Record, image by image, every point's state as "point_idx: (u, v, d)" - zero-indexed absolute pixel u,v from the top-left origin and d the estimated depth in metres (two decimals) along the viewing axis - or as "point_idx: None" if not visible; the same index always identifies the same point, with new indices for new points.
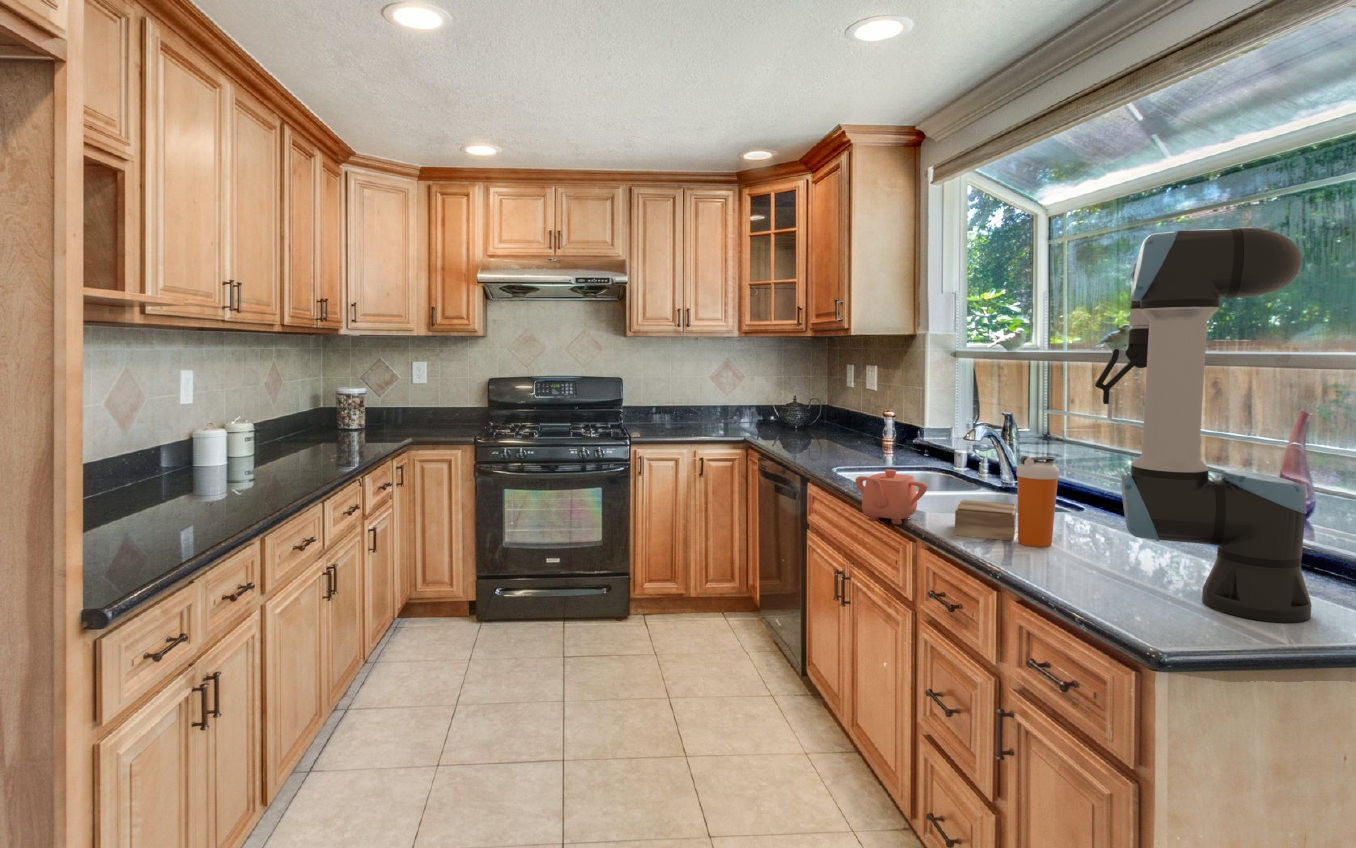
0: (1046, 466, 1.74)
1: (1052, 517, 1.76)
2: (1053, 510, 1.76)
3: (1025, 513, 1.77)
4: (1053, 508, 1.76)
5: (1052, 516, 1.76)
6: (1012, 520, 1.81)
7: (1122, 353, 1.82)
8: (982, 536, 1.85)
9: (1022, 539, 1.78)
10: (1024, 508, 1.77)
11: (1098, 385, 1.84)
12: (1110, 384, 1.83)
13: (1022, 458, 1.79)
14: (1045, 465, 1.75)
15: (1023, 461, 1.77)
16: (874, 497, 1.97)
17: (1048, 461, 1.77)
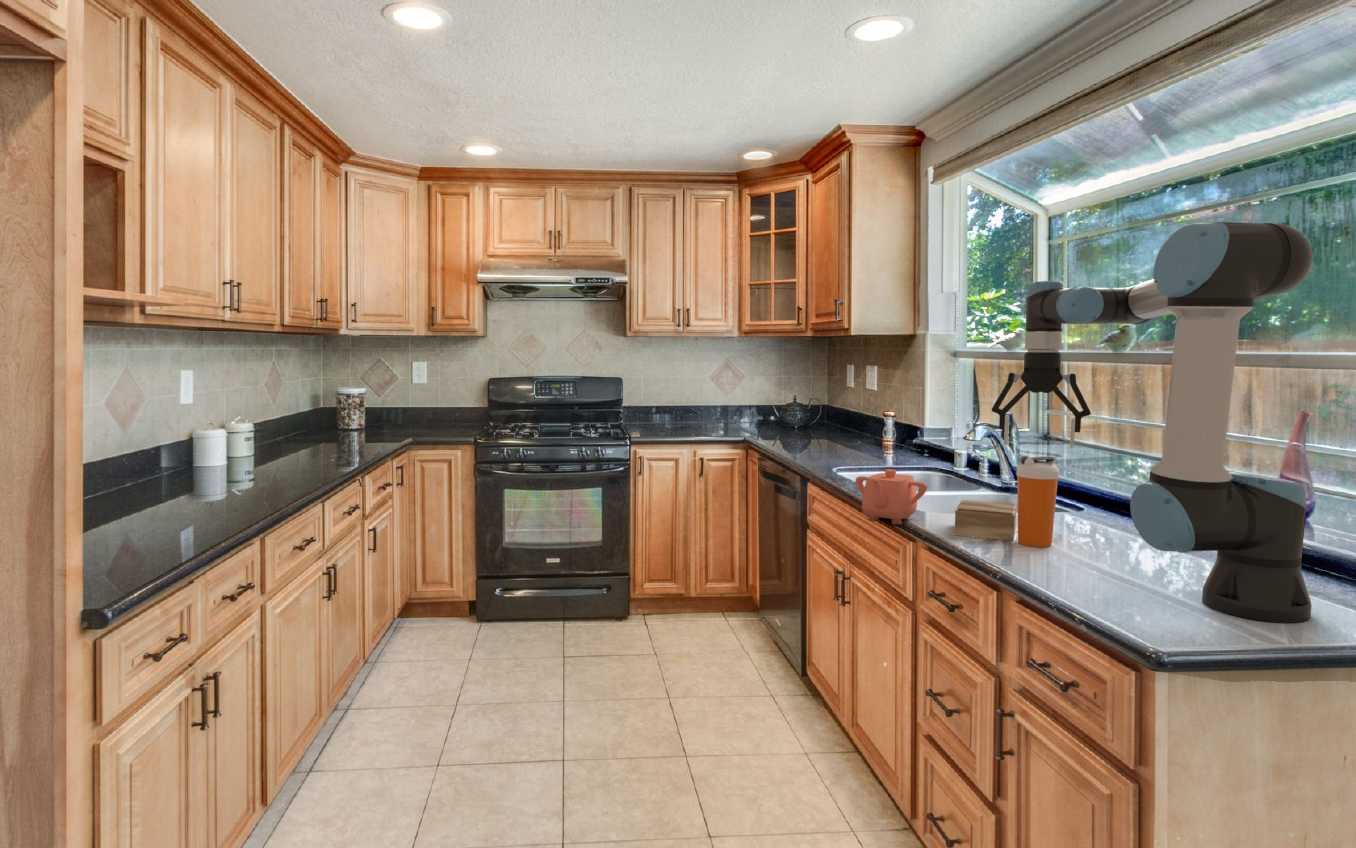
0: (1046, 466, 1.74)
1: (1052, 517, 1.76)
2: (1053, 510, 1.76)
3: (1025, 513, 1.77)
4: (1053, 508, 1.76)
5: (1052, 516, 1.76)
6: (1012, 520, 1.81)
7: (1017, 377, 1.77)
8: (982, 536, 1.85)
9: (1022, 539, 1.78)
10: (1024, 508, 1.77)
11: (994, 410, 1.79)
12: (1005, 408, 1.78)
13: (1022, 458, 1.79)
14: (1045, 465, 1.75)
15: (1023, 461, 1.77)
16: (874, 497, 1.97)
17: (1048, 461, 1.77)
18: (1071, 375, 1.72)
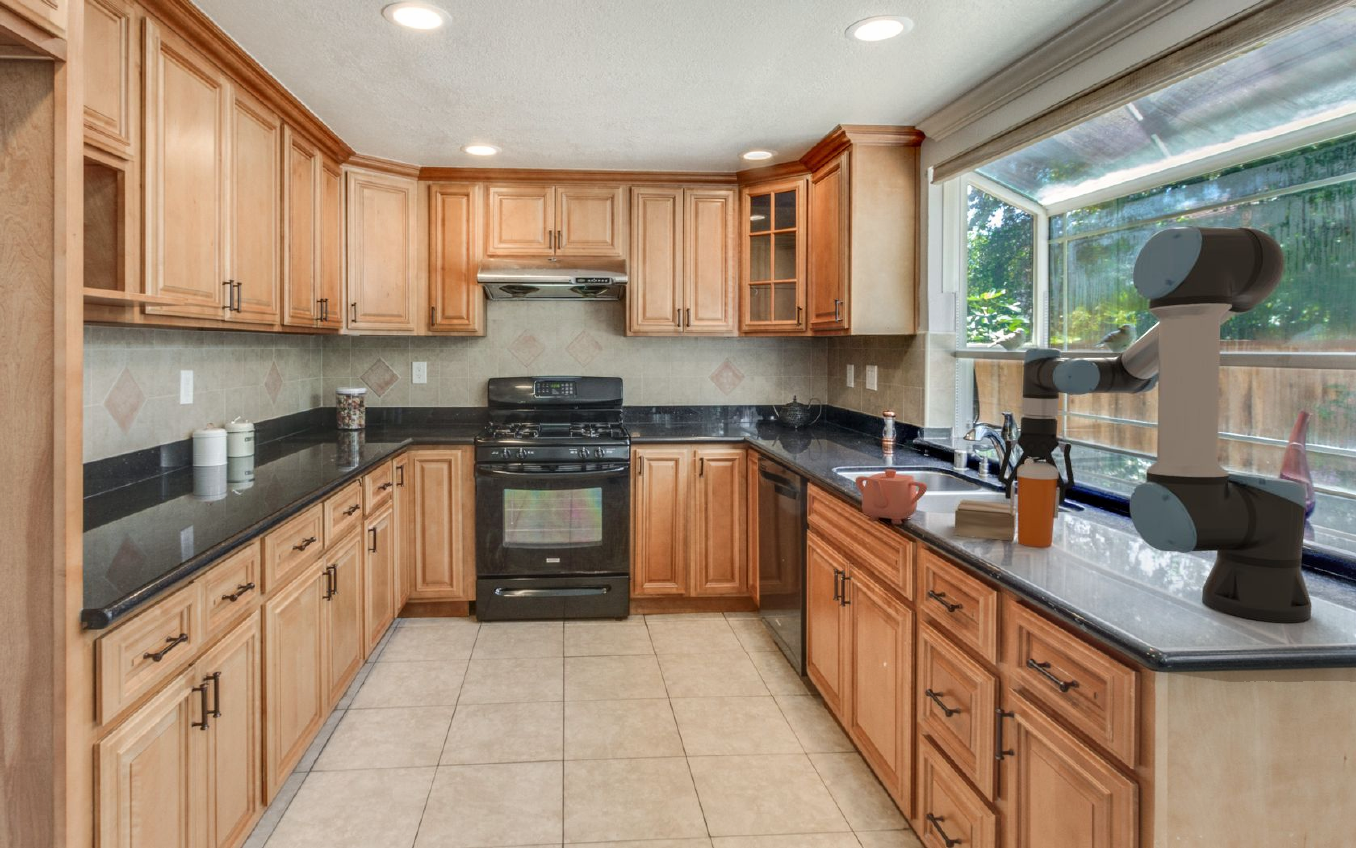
0: (1046, 466, 1.74)
1: (1052, 517, 1.76)
2: (1053, 510, 1.76)
3: (1025, 513, 1.77)
4: (1053, 508, 1.76)
5: (1052, 516, 1.76)
6: (1012, 520, 1.81)
7: (1014, 443, 1.79)
8: (982, 536, 1.85)
9: (1022, 539, 1.78)
10: (1024, 508, 1.77)
11: (1000, 479, 1.80)
12: (1010, 478, 1.79)
13: None
14: (1045, 465, 1.75)
15: (1023, 461, 1.77)
16: (874, 497, 1.97)
17: None
18: (1067, 445, 1.74)
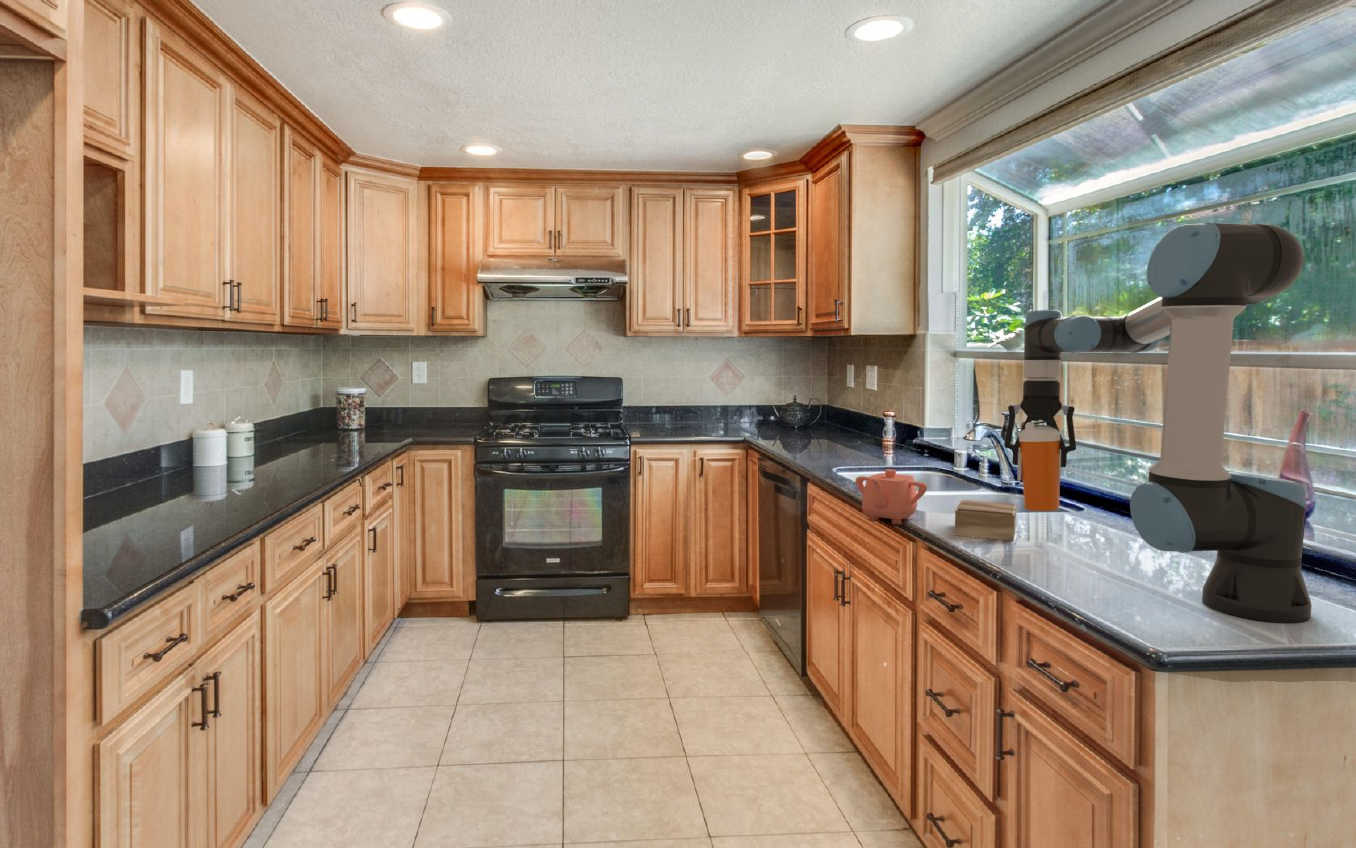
0: (1047, 429, 1.73)
1: (1057, 480, 1.74)
2: (1058, 473, 1.74)
3: (1030, 477, 1.75)
4: (1058, 471, 1.74)
5: (1057, 479, 1.74)
6: (1012, 520, 1.81)
7: (1017, 408, 1.78)
8: (982, 536, 1.85)
9: (1029, 505, 1.76)
10: (1028, 472, 1.75)
11: (1007, 445, 1.79)
12: (1017, 444, 1.78)
13: (1022, 423, 1.78)
14: (1046, 428, 1.74)
15: (1024, 426, 1.76)
16: (874, 497, 1.97)
17: (1049, 424, 1.76)
18: (1070, 408, 1.73)
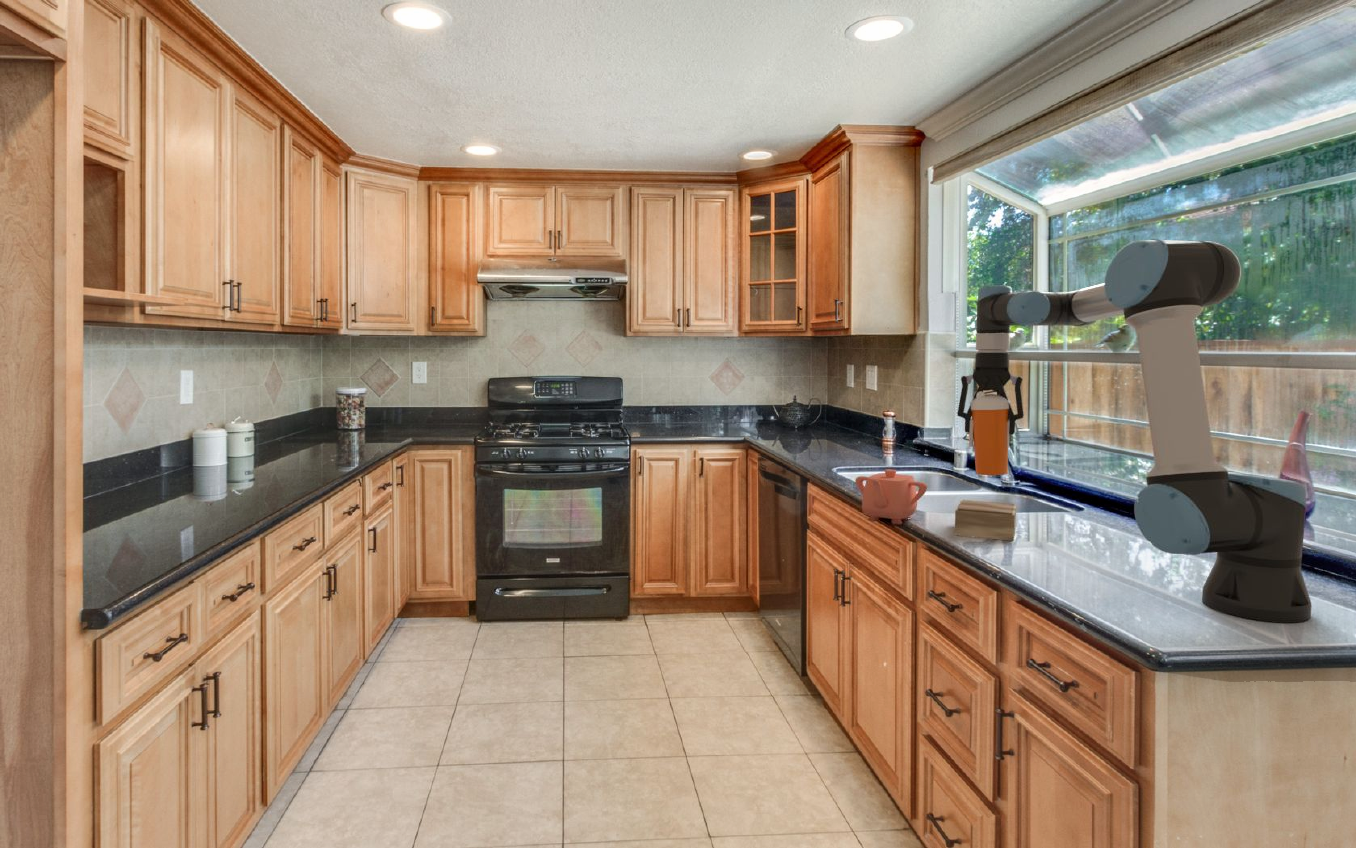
0: (996, 398, 1.84)
1: (1005, 446, 1.85)
2: (1006, 439, 1.85)
3: (980, 443, 1.86)
4: (1006, 437, 1.85)
5: (1006, 445, 1.85)
6: (1012, 520, 1.81)
7: (970, 378, 1.88)
8: (982, 536, 1.85)
9: (979, 470, 1.87)
10: (979, 439, 1.86)
11: (959, 414, 1.89)
12: (969, 412, 1.88)
13: (975, 393, 1.88)
14: (995, 397, 1.84)
15: (975, 395, 1.87)
16: (874, 497, 1.97)
17: None
18: (1018, 378, 1.83)
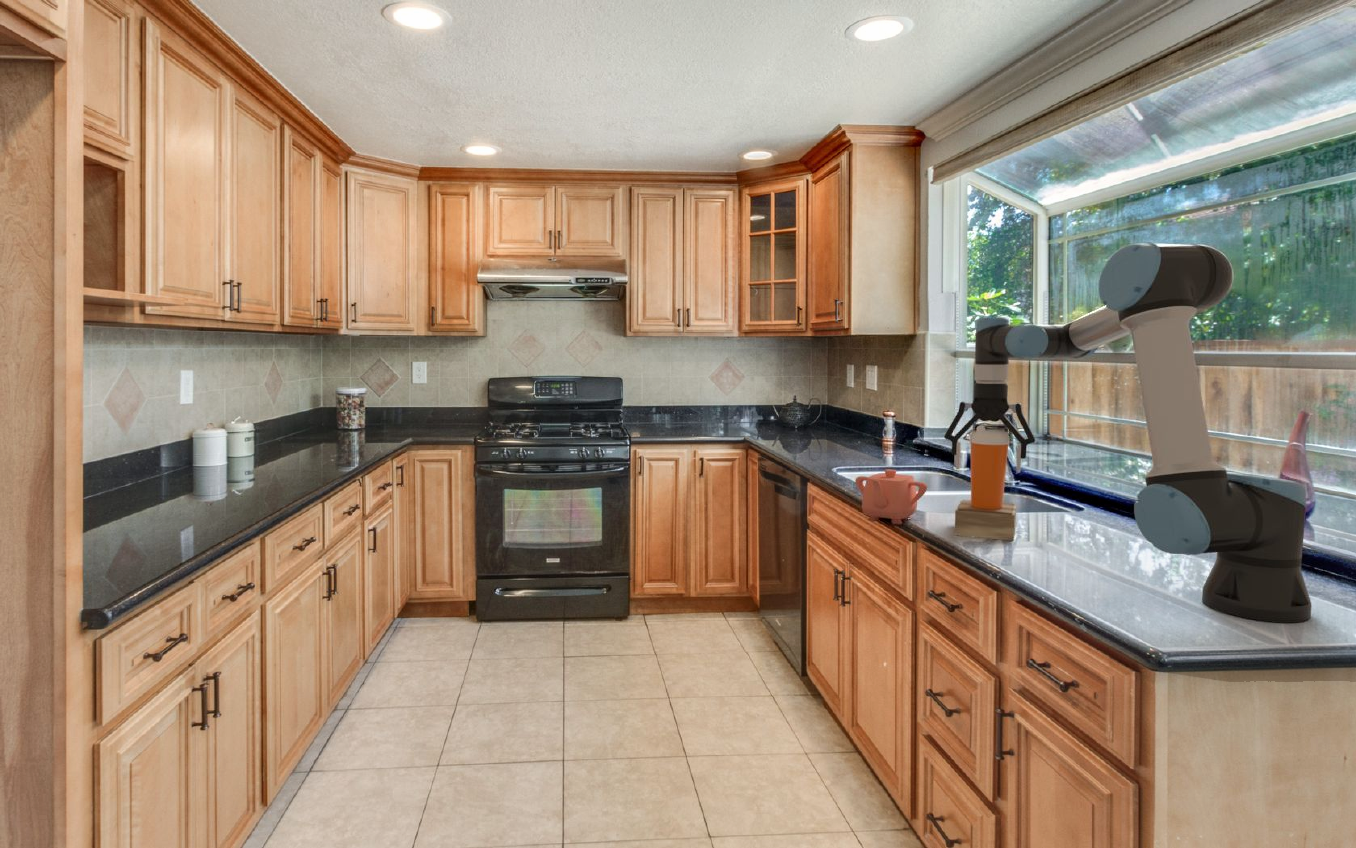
0: (996, 433, 1.84)
1: (1002, 481, 1.85)
2: (1003, 474, 1.86)
3: (977, 477, 1.86)
4: (1003, 472, 1.85)
5: (1002, 480, 1.86)
6: (1012, 520, 1.81)
7: (968, 406, 1.89)
8: (982, 536, 1.85)
9: (975, 502, 1.88)
10: (976, 472, 1.87)
11: (946, 437, 1.91)
12: (957, 436, 1.90)
13: (975, 425, 1.88)
14: (995, 432, 1.84)
15: (975, 428, 1.87)
16: (874, 497, 1.97)
17: (999, 428, 1.86)
18: (1017, 405, 1.84)
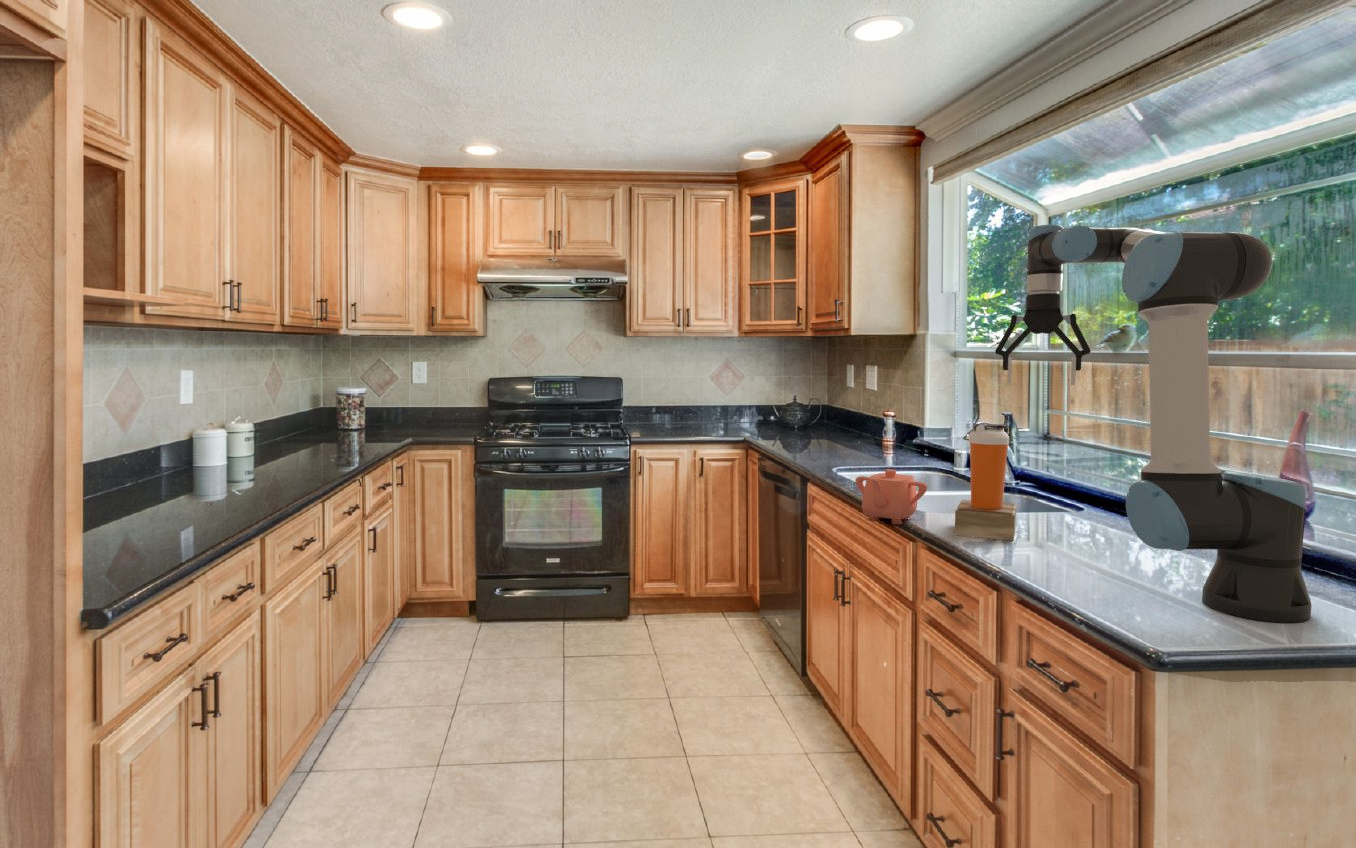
0: (996, 433, 1.84)
1: (1002, 481, 1.86)
2: (1003, 474, 1.86)
3: (976, 477, 1.87)
4: (1003, 472, 1.86)
5: (1002, 480, 1.86)
6: (1012, 520, 1.81)
7: (1020, 319, 1.84)
8: (982, 536, 1.85)
9: (975, 503, 1.88)
10: (976, 472, 1.87)
11: (997, 351, 1.86)
12: (1009, 350, 1.85)
13: (974, 425, 1.88)
14: (995, 432, 1.84)
15: (975, 428, 1.87)
16: (874, 497, 1.97)
17: (998, 428, 1.86)
18: (1071, 315, 1.79)
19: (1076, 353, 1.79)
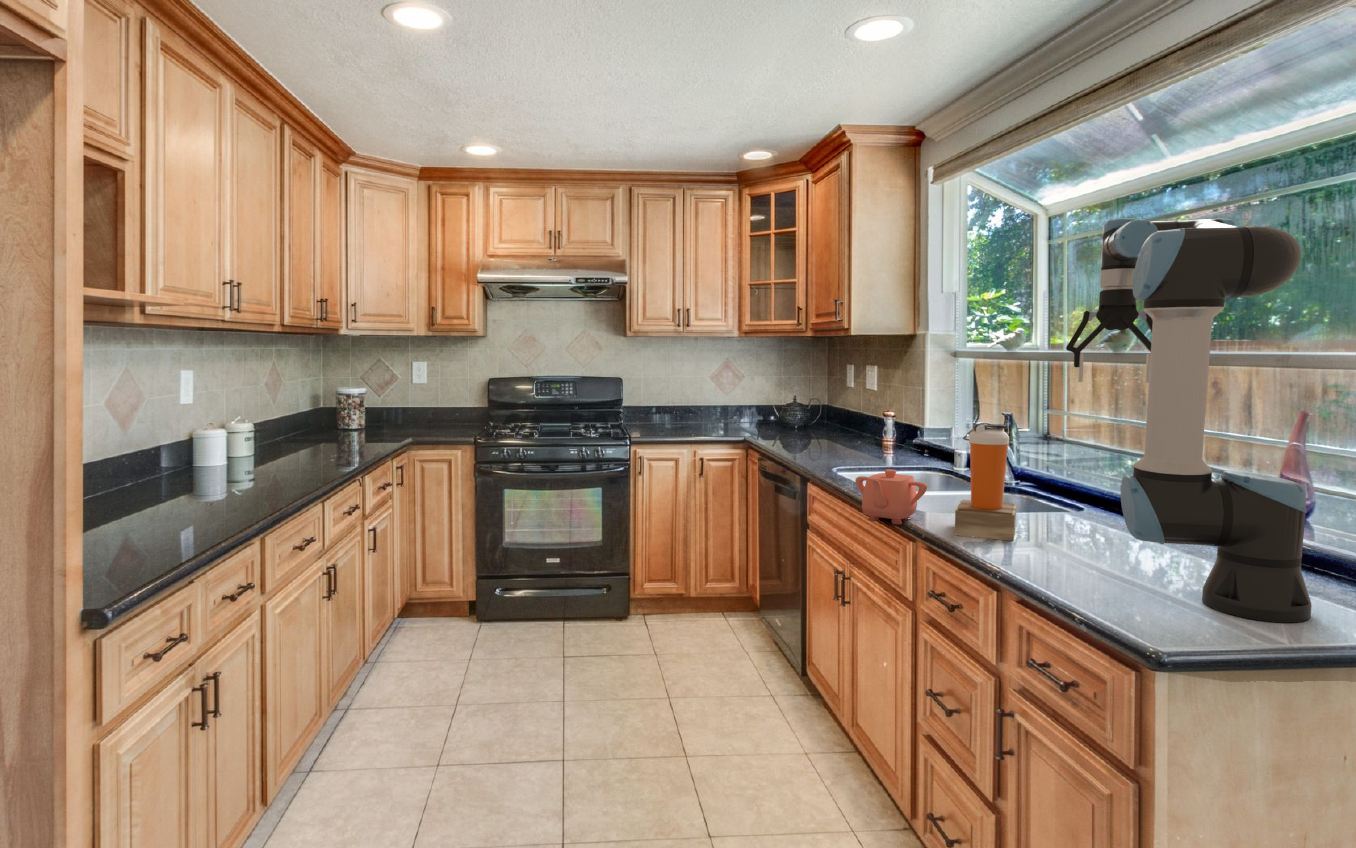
0: (996, 433, 1.84)
1: (1002, 481, 1.86)
2: (1003, 474, 1.86)
3: (977, 477, 1.87)
4: (1003, 472, 1.85)
5: (1002, 480, 1.86)
6: (1012, 520, 1.81)
7: (1093, 315, 1.80)
8: (982, 536, 1.85)
9: (975, 503, 1.88)
10: (976, 472, 1.87)
11: (1069, 348, 1.82)
12: (1081, 346, 1.81)
13: (974, 425, 1.88)
14: (995, 432, 1.84)
15: (975, 428, 1.87)
16: (874, 497, 1.97)
17: (998, 428, 1.86)
18: None
19: None
